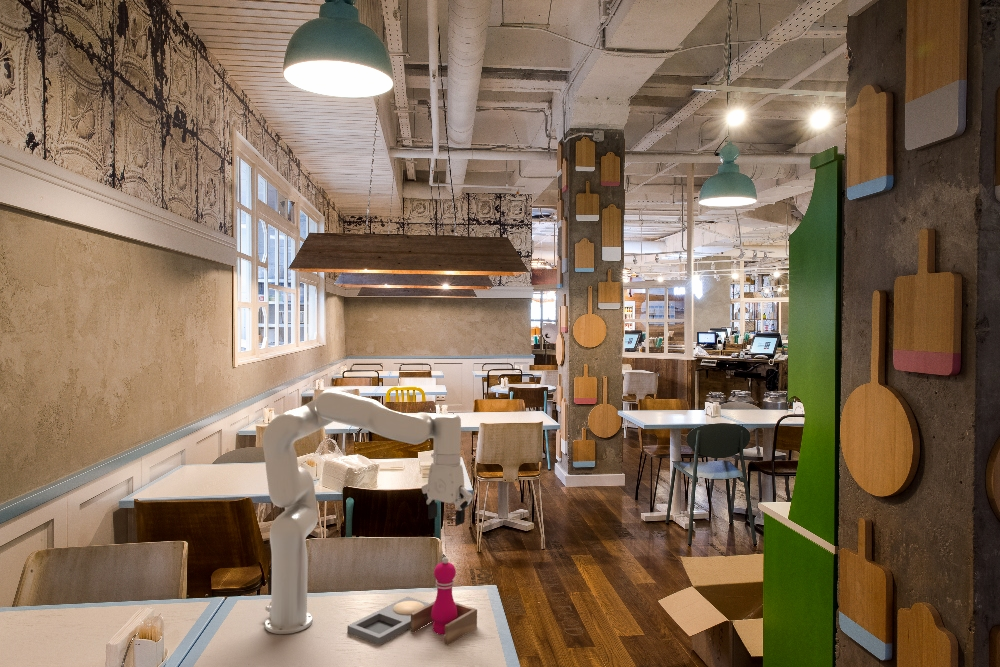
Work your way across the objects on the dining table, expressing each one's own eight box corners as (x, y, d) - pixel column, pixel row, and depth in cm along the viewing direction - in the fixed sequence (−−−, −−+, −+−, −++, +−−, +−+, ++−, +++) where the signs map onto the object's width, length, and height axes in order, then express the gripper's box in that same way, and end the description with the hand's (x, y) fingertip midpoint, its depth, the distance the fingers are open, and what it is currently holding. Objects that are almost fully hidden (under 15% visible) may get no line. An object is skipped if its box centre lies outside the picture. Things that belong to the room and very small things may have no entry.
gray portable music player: (347, 632, 175) (347, 624, 175) (407, 603, 194) (407, 595, 194) (379, 645, 168) (379, 636, 168) (437, 613, 188) (438, 605, 188)
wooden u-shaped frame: (410, 631, 176) (410, 613, 176) (440, 615, 186) (441, 597, 186) (447, 645, 168) (447, 626, 168) (476, 627, 179) (477, 609, 179)
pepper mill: (445, 638, 172) (446, 563, 172) (425, 630, 177) (426, 557, 177) (462, 628, 178) (463, 556, 178) (443, 621, 183) (444, 551, 183)
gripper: (414, 457, 179) (413, 518, 179) (463, 465, 170) (462, 529, 170) (431, 453, 186) (430, 512, 186) (480, 460, 176) (479, 523, 176)
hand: (446, 520), depth 178 cm, fingers open, 9 cm apart
